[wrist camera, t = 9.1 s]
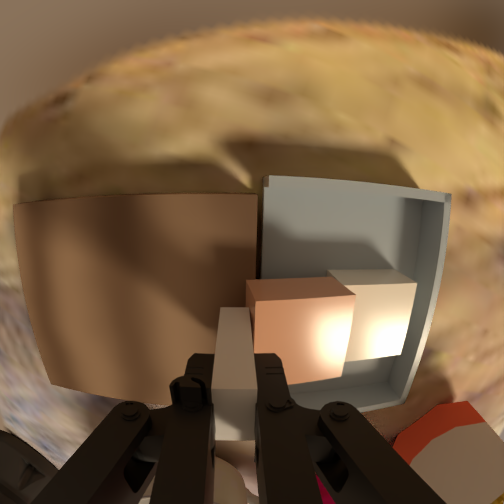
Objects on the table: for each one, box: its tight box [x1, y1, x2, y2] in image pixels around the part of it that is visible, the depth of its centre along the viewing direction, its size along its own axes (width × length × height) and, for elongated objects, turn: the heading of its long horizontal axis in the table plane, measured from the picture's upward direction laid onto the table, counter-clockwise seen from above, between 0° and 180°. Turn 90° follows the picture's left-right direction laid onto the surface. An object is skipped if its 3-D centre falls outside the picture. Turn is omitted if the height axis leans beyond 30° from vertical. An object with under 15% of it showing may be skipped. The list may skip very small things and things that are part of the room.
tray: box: [260, 175, 451, 413], centre depth 18 cm, size 12×16×4 cm
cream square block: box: [327, 269, 417, 362], centre depth 17 cm, size 5×5×3 cm
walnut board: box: [13, 193, 258, 406], centre depth 17 cm, size 16×14×3 cm
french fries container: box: [393, 401, 504, 504], centre depth 15 cm, size 5×11×18 cm, turn 127°
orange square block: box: [246, 277, 356, 385], centre depth 15 cm, size 5×5×3 cm
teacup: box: [138, 456, 259, 504], centre depth 20 cm, size 14×11×8 cm
